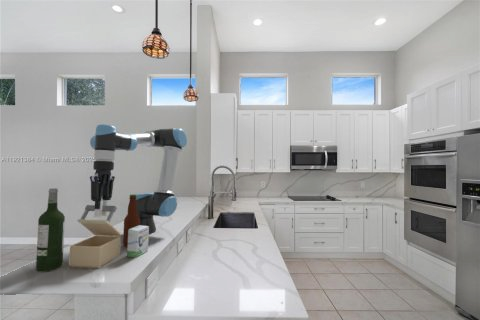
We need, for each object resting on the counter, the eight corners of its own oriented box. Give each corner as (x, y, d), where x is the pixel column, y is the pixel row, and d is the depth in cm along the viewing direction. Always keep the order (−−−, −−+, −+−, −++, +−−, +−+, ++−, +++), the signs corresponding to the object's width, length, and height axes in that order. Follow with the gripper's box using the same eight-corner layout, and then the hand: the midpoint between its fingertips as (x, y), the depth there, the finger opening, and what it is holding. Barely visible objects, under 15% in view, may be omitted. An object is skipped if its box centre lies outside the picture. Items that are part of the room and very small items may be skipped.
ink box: (138, 250, 109) (139, 224, 109) (148, 251, 108) (149, 225, 108) (126, 256, 100) (127, 229, 101) (136, 258, 99) (137, 230, 100)
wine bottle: (30, 269, 86) (34, 189, 87) (54, 262, 93) (57, 187, 95) (44, 273, 83) (48, 190, 85) (67, 265, 91) (70, 188, 92)
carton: (94, 253, 103) (94, 235, 103) (120, 254, 102) (120, 236, 103) (69, 267, 89) (70, 246, 89) (99, 268, 88) (100, 247, 89)
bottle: (140, 242, 120) (142, 193, 121) (137, 247, 113) (139, 195, 114) (125, 243, 118) (127, 194, 119) (121, 248, 111) (123, 195, 112)
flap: (94, 235, 103) (102, 219, 108) (121, 236, 103) (127, 220, 108) (77, 220, 93) (86, 204, 98) (106, 221, 92) (114, 205, 97)
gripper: (107, 161, 108) (104, 213, 106) (82, 159, 92) (78, 219, 90) (122, 162, 107) (120, 213, 106) (100, 159, 92) (96, 220, 90)
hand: (100, 216), depth 98 cm, fingers open, 3 cm apart
